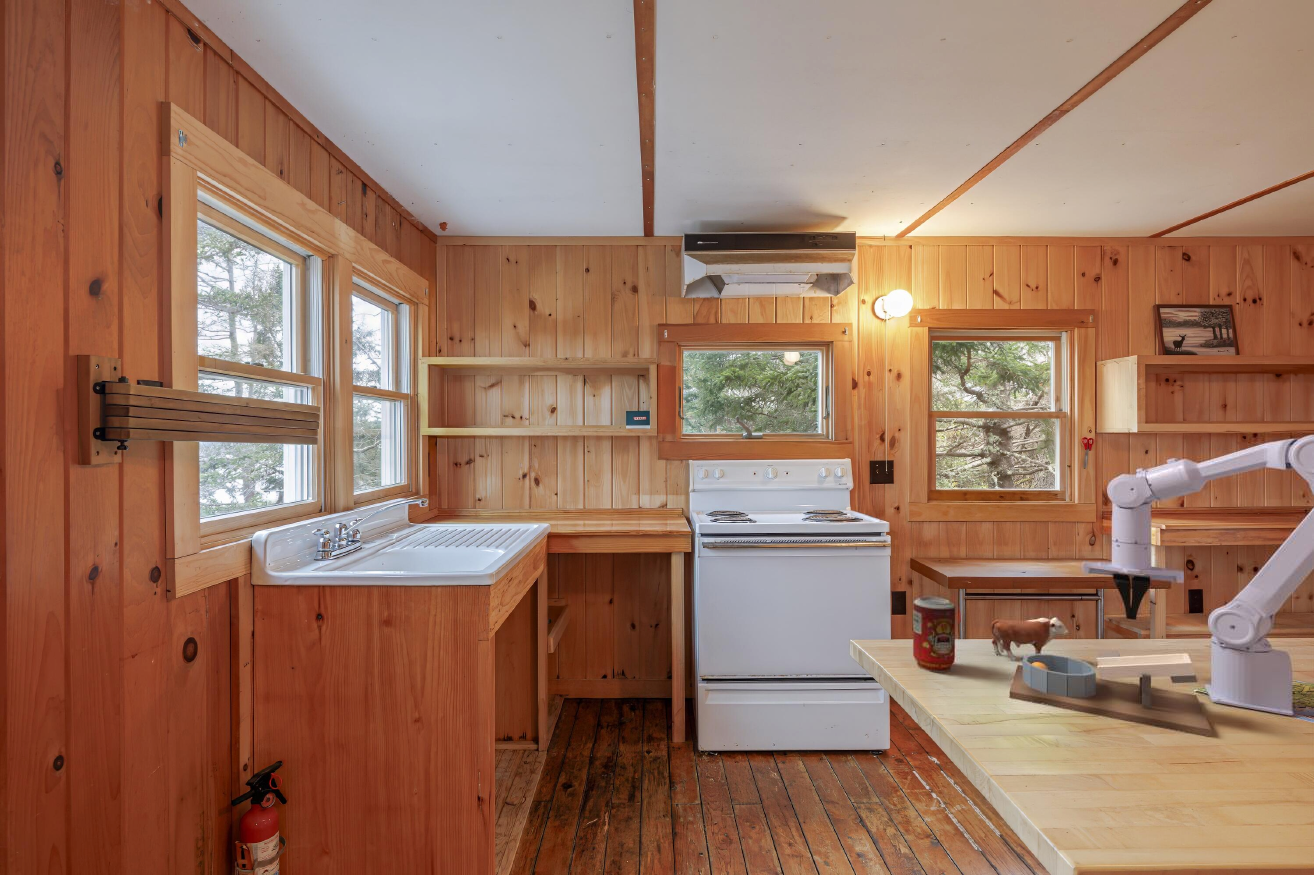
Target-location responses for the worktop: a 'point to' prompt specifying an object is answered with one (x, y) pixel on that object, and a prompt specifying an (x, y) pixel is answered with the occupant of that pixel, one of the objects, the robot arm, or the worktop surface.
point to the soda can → (934, 633)
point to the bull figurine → (1025, 633)
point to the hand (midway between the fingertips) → (1131, 618)
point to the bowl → (1060, 675)
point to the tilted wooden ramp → (1146, 666)
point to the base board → (1126, 703)
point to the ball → (1040, 665)
